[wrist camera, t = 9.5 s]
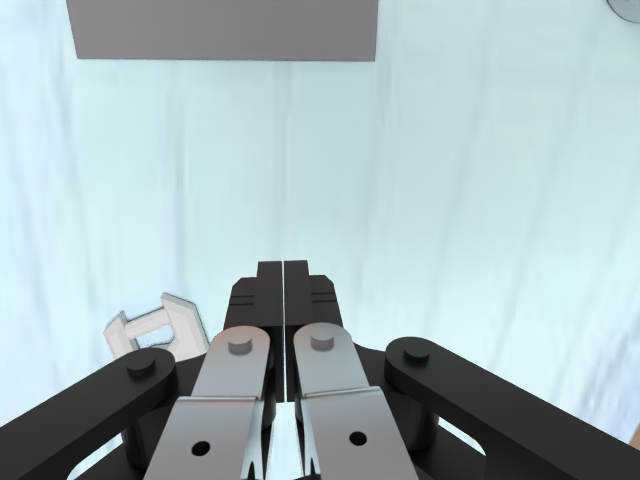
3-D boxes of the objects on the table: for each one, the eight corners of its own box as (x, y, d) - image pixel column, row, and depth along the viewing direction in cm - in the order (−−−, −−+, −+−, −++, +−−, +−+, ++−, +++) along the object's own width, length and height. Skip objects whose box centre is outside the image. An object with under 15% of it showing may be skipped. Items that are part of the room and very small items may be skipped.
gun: (233, 441, 47) (145, 459, 47) (237, 418, 50) (155, 435, 50) (183, 298, 41) (81, 319, 41) (191, 282, 44) (97, 302, 44)
